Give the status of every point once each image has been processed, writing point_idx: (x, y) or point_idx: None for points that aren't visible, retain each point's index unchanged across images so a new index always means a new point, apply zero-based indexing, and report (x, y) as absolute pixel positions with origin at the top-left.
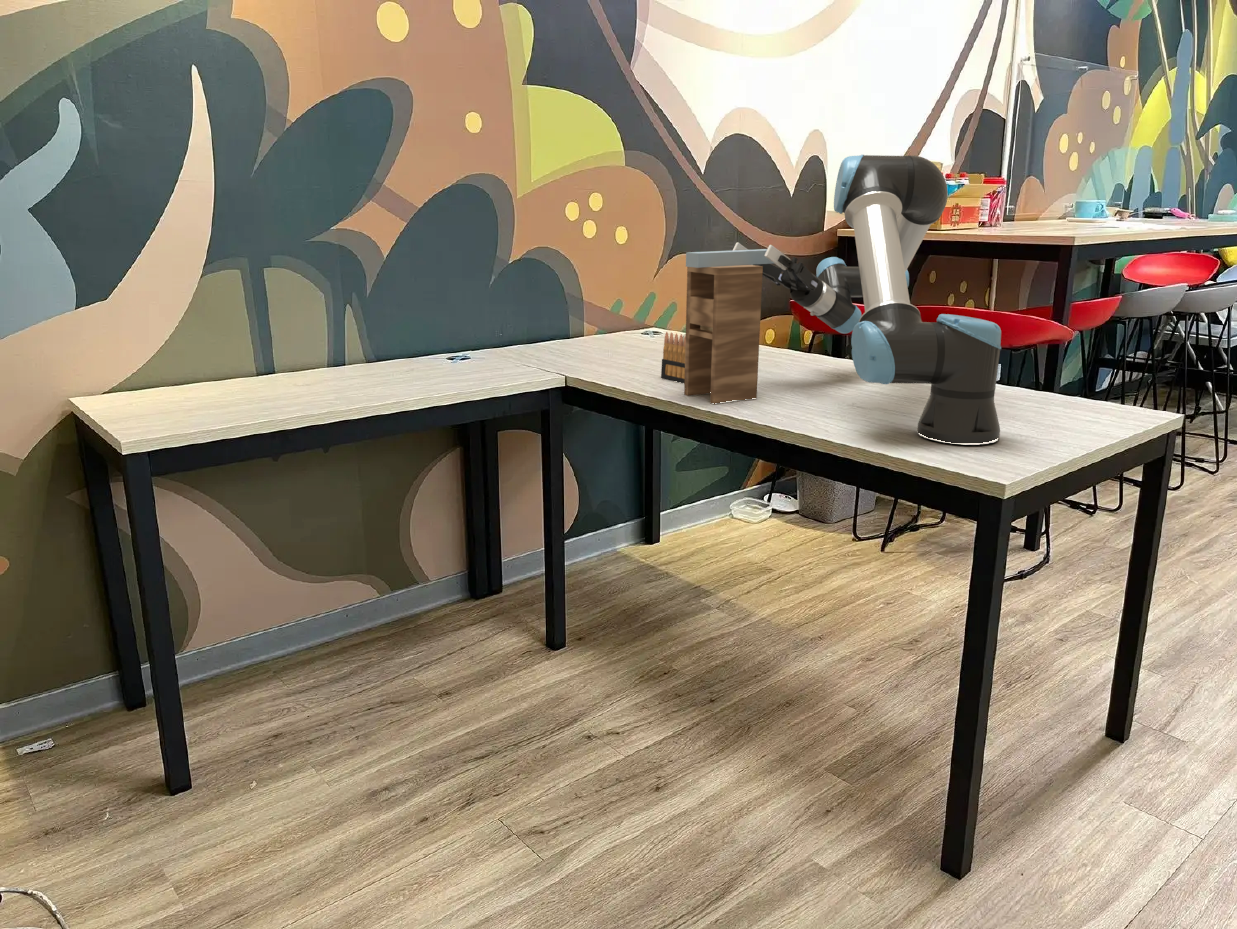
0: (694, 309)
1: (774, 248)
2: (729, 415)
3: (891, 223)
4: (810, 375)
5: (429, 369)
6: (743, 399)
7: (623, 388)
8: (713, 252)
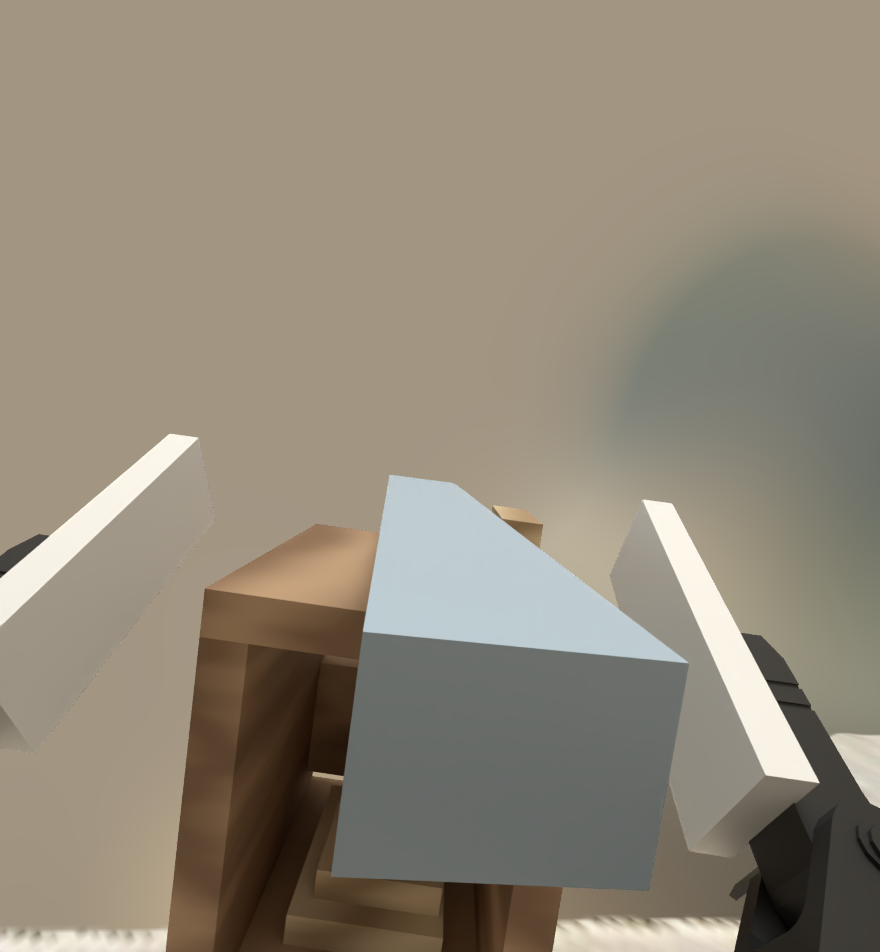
0: None
1: (146, 466)
2: (123, 940)
3: None
4: None
5: (868, 752)
6: None
7: (628, 937)
8: (403, 484)
